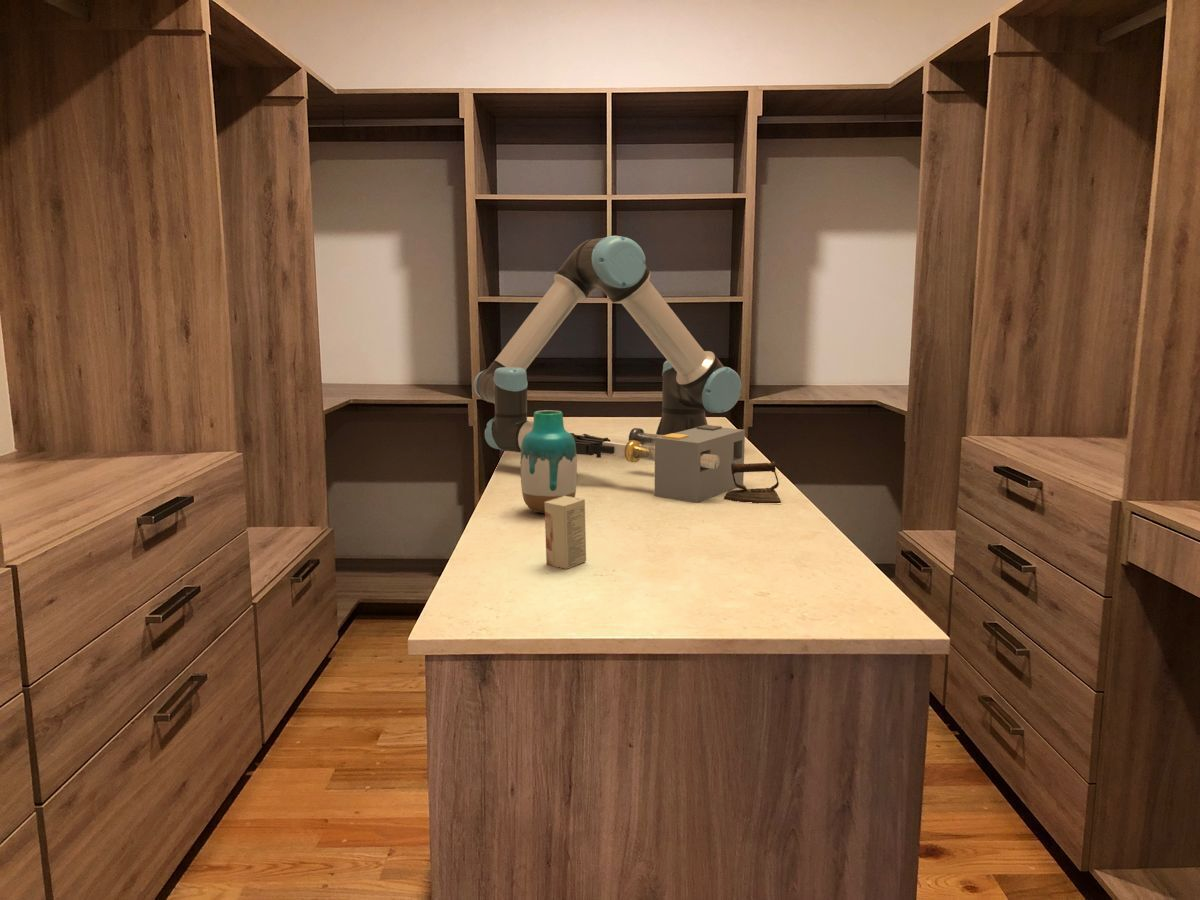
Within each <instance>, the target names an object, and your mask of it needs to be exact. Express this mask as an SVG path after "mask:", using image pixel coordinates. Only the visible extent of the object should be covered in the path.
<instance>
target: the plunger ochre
mask: <svg viewBox="0 0 1200 900" xmlns="http://www.w3.org/2000/svg"><path fill="white" fill-rule="evenodd" d="M625 444H626V447H625V460H626V462H629V463H635V464H636V463H638V462H639V461H640V460H645V461H652V462H653V461H654V462H655V447H653V446H645V445H643V446H642V445H641V443H640V442H639V441H635V440H630V441H629V440H628V442H627V443H625ZM719 463H720V458H719V456H718V455H712V454H704V453H701V459H700V467H703V468H711V469H717V468H718V467H719Z"/></svg>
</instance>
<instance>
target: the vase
mask: <svg viewBox="0 0 1200 900" xmlns="http://www.w3.org/2000/svg"><path fill="white" fill-rule="evenodd" d="M564 424H565V423H564V414H563V412H562V411H561V410H552V409H551V410H549V409H548V410H547V409H544V410H536V411H534V412H533V428H532V431H530V432H529V433H527V434H526V435H525V436H524V438H523V440H522V445H521V453H520V484H521V493H522V494H521V495H522V498H523V501H524V503H525V505H526V506H527V507H528V508H529V509H530V510H532V511H534V512H536V513H543V514H545V502H546V501H549V500H552V499H555V498H559V497H562V496H570V497H575V496H576V492H577V482H578V481H577V480H578V458H577V455H578V454H576V444H575V440H574V438H573V436H572V435H571V434H570V433H571V432H569V431H567V430H566V429H565V425H564ZM575 498H576V497H575Z"/></svg>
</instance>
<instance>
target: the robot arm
mask: <svg viewBox="0 0 1200 900" xmlns="http://www.w3.org/2000/svg"><path fill="white" fill-rule="evenodd" d="M646 259H647V258H646V255H645V253H644V251H643V249H642V247H641V246H640V245H639V244H638V243H637V242H636V241H634V240H633V239H631V238H629V237H627V236H626V237H625V236H619V235H610V236H606V237H600V238H590V239H587V240H585V241H583V242H582V243H581V244H579V245H578V246H577V247H576V248H575V249H574V250H573V251H572V252H571V254H570V255H569V256H568V257H567V258H566V260H565V261H564V263H563V264H562V265H561V266H560V267H559V269H558V270H557V272H556V273H555V274H554V276H553V281H554V283H552V285H551V286H550V288H548V290H547V292H545V293H544V296H543V297H542V298H541V299H540V301H539V302H538V303H537V304H536V306H535V307H534V308H533V310H532V311H531V312H530V314H529V315H528V316H527V318H526V319H525V320H524V321H523V322H522V324H521V325H520V326H519V328H518V329H517V331H516V332H515V333H514V334H513V336H512V337H511V338H510V339H509V341H508V343H507V344H506V345H505V346H504V348H503V349H502V350H501V352H500V353H499V354H498V355H497V357H496V358H495V359H494V360H493V361H492V362H491V363H490V365H489V367H487V369H485V370H482V371H480V372H479V373H478V374H477V375H476V376H475V378H474V380H473V390H474V392H475V394H476V396H478V397H479V398H480V399H481V400H483V401H486V402H487V403H492V404H494V417H493V418H491V419H489V421H487V423H486V427H485V429H484V439H485V441H486V443H487V445H488V446H489V447H491V448H493V449H495V450H500V451H503V452H510V453H511V452H512V453H520V454H521V445H522V440H523V438H524V436H525V435H526V434H527V433H529V432H530V431H532V428H533V421H534V420H533V421H532V420H531V421H530V420H529V421H528V383H529V382H528V377H527V369H528V368H529V366H530V365H531V364H532V362H533V361H535V358H536V357H538V355H539V353H540V352H541V351H542V349H544V347H545V346H546V345H547V343H548V342H549V340H550V339H551V338H552V337H553V335H554V334H555V332H556V331H557V330H558V329H559V327H560V326H561V325H562V323H563V322H564V321H565V319H566V318H567V317H568V316H569V315H570V314H571V312H572V310H573V309H574V308H575V306H576V305H577V304H578V303H579V302H582V301H585V300H586V299H587V297H588V296H589V295H590V294H591V293H592V292H594V290H596V289H598V288H600V289H601V291H602V292H603V293H604V295H606V296H607V298H609V301H610V302H612V303H613V304H621V305H622V307H624V308H625V310H626V311H627V312H628V313H629V314H630V316H631V318H633V320H634V321H635V322H636V323H637V324H638V326H639V327H640V328H641V330H643V332H644V333H645V335H647V337H648V338H649V339H650V340H651V342H652V343H653V344H654V345H655V347H656V349H658V351H659V352H660V353H661V354H662V355H663V356H664V358H665V359H666V360H665V361H664V362H663V365H662V373H661V376H662V389H661V390H662V393H661V394H662V398H661V399H662V404H661V406H662V407H661V408H662V409H661V410H662V412H661V418H660V420H659V424H658V426H657V429H656V433H655V434H657V435H667V434H671V433H677V432H681V431H685V430H689V429H693V428H697V427H699V426H703V425H709V424H708V421H707V417H706V411H707V412H709V413H713V414H715V413H719V414H721V413H725V412H728V411H730V410H731V409H733V408H734V407H735V405H737V403H738V401H739V399H740V397H741V394H742V393H741V392H742V391H741V390H742V387H743V386H742V381H741V380H742V379H741V377H740V375H739V374H738V372H736V371H735V370H734V369H732V368H731V367H728V366H724V365H723V364H722V362H721V361H720V359H719V358H718V357H717V356H716V354H715V353H714V352H713V351H709V350H706V351H705V350H704V349H703V348H702V347H701V345H700V344H699V343H698V341H697V340H696V339H695V338H694V336H693V335H692V334H691V332H690V330H688V329H687V327H686V326H685V325H684V324H683V322H682V321H681V319H680V318H679V317H678V316H677V314H676V313H675V312H674V311H673V309H672V308H671V307H670V306H669V304H668V303H667V302H666V301H665V298H664V297H662V295H661V294H660V292H659V291H658V290H657V289H656V288H655V286H654V285H653V283H652V282H651V281H650V279H651V271H650V269H649V268H648V267H647V264H646ZM569 433H570V434H571V435H572V436H573V438H574V440H575V444H576V454H577V455H582V456H583V455H584V456H590V457H591V456H594V455H596V459H600V458H602V455H603V456H611V457H616V458H617V457H618V458H623V459H624V458H625V447H626V444H627V443H622V442H614V441H611V439H609V437H597V436H594V435H590V434H588V433H583V434H582V435H580V434H576V433H574V432H569ZM625 459H626V458H625Z"/></svg>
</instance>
